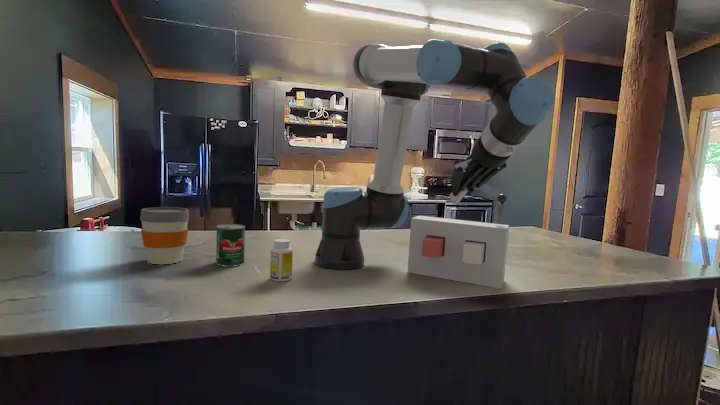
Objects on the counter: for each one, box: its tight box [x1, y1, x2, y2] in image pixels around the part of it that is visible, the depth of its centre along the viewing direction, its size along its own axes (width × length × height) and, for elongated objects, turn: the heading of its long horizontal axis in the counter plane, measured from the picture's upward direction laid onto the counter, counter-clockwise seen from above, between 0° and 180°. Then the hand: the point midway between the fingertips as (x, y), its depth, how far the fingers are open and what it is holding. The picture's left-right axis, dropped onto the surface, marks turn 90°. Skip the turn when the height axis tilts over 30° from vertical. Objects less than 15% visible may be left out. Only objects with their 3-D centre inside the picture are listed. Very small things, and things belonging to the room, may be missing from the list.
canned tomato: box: [215, 223, 246, 267], centre depth 112 cm, size 8×8×11 cm
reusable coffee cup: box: [139, 206, 190, 265], centre depth 111 cm, size 13×12×15 cm
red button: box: [422, 236, 445, 258], centre depth 107 cm, size 5×6×5 cm
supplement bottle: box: [269, 238, 294, 282], centre depth 100 cm, size 6×6×10 cm
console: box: [407, 215, 510, 289], centre depth 110 cm, size 26×8×16 cm, turn 65°
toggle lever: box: [495, 193, 508, 224], centre depth 107 cm, size 3×3×9 cm
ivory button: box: [462, 241, 485, 265], centre depth 103 cm, size 5×6×5 cm
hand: (453, 199), depth 101 cm, fingers closed
